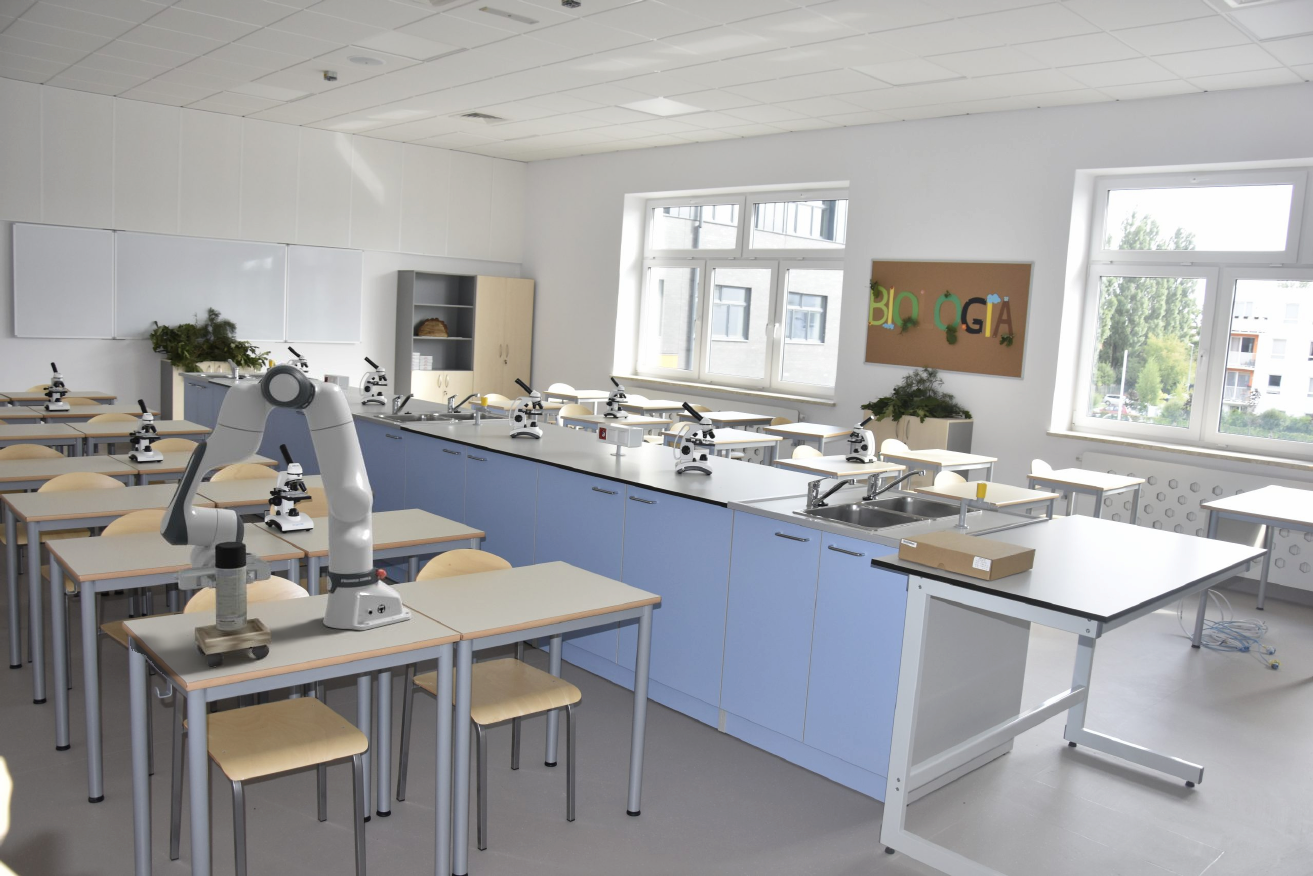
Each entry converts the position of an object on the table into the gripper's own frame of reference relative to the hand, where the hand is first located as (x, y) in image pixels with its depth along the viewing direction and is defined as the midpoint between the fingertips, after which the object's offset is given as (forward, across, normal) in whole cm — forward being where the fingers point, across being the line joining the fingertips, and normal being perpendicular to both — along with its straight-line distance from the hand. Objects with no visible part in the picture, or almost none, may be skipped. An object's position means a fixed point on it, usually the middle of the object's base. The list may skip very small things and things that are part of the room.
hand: (231, 582), depth 220 cm
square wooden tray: (-1, 0, +18) cm, 18 cm away
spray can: (-1, 0, +11) cm, 11 cm away
